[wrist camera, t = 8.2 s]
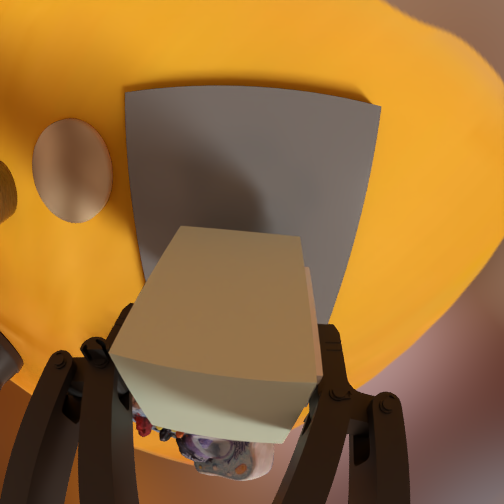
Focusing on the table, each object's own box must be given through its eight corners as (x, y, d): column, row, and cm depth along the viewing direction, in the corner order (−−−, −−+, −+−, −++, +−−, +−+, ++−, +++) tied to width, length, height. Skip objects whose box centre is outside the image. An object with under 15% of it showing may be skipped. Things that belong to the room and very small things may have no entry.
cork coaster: (51, 217, 19) (44, 222, 18) (34, 128, 14) (26, 131, 13) (122, 218, 18) (116, 224, 17) (109, 108, 14) (101, 110, 13)
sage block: (188, 310, 17) (152, 424, 10) (180, 225, 13) (108, 352, 7) (283, 320, 17) (282, 443, 10) (300, 236, 13) (316, 382, 7)
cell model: (221, 486, 28) (94, 436, 21) (231, 428, 37) (123, 368, 30) (295, 483, 22) (141, 435, 16) (297, 411, 32) (176, 337, 25)
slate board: (163, 329, 24) (160, 338, 23) (134, 92, 13) (125, 92, 12) (314, 344, 23) (315, 355, 22) (373, 105, 13) (381, 106, 12)
